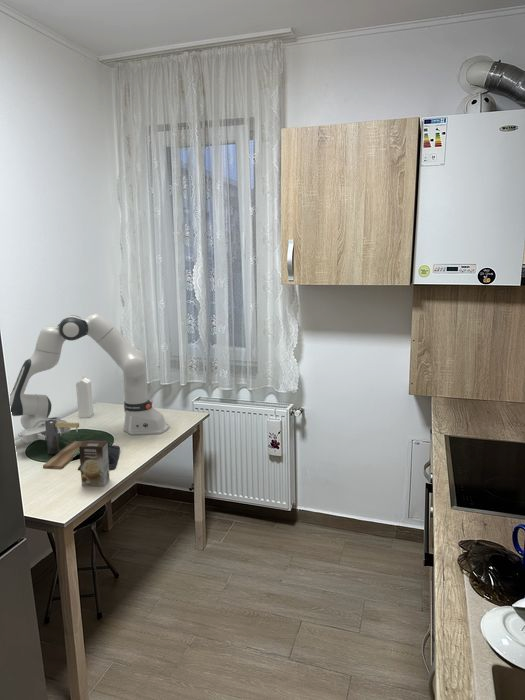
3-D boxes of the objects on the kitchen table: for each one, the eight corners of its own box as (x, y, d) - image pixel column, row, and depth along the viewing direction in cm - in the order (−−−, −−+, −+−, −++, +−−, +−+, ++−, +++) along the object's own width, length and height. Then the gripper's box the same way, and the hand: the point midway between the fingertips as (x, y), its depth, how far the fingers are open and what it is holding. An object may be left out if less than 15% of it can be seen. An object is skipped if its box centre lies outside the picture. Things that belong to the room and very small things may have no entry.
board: (89, 444, 227) (89, 441, 227) (61, 468, 202) (61, 465, 202) (73, 443, 228) (72, 440, 228) (43, 468, 203) (42, 465, 202)
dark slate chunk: (125, 450, 221) (125, 440, 220) (113, 472, 200) (113, 461, 199) (91, 451, 221) (90, 441, 220) (75, 473, 199) (74, 462, 198)
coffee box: (80, 486, 187) (77, 446, 184) (87, 478, 194) (84, 439, 190) (104, 486, 187) (101, 446, 184) (110, 478, 193) (107, 440, 190)
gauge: (82, 451, 217) (80, 420, 214) (78, 455, 213) (75, 424, 210) (51, 449, 219) (48, 419, 216) (45, 453, 214) (42, 423, 211)
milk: (78, 417, 262) (75, 377, 258) (82, 414, 268) (79, 374, 264) (90, 417, 262) (86, 377, 258) (93, 413, 268) (90, 374, 264)
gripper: (15, 427, 216) (27, 435, 206) (62, 416, 230) (75, 423, 220) (17, 440, 217) (28, 449, 208) (63, 428, 231) (76, 437, 222)
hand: (52, 436), depth 214 cm, fingers closed on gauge, 5 cm apart
